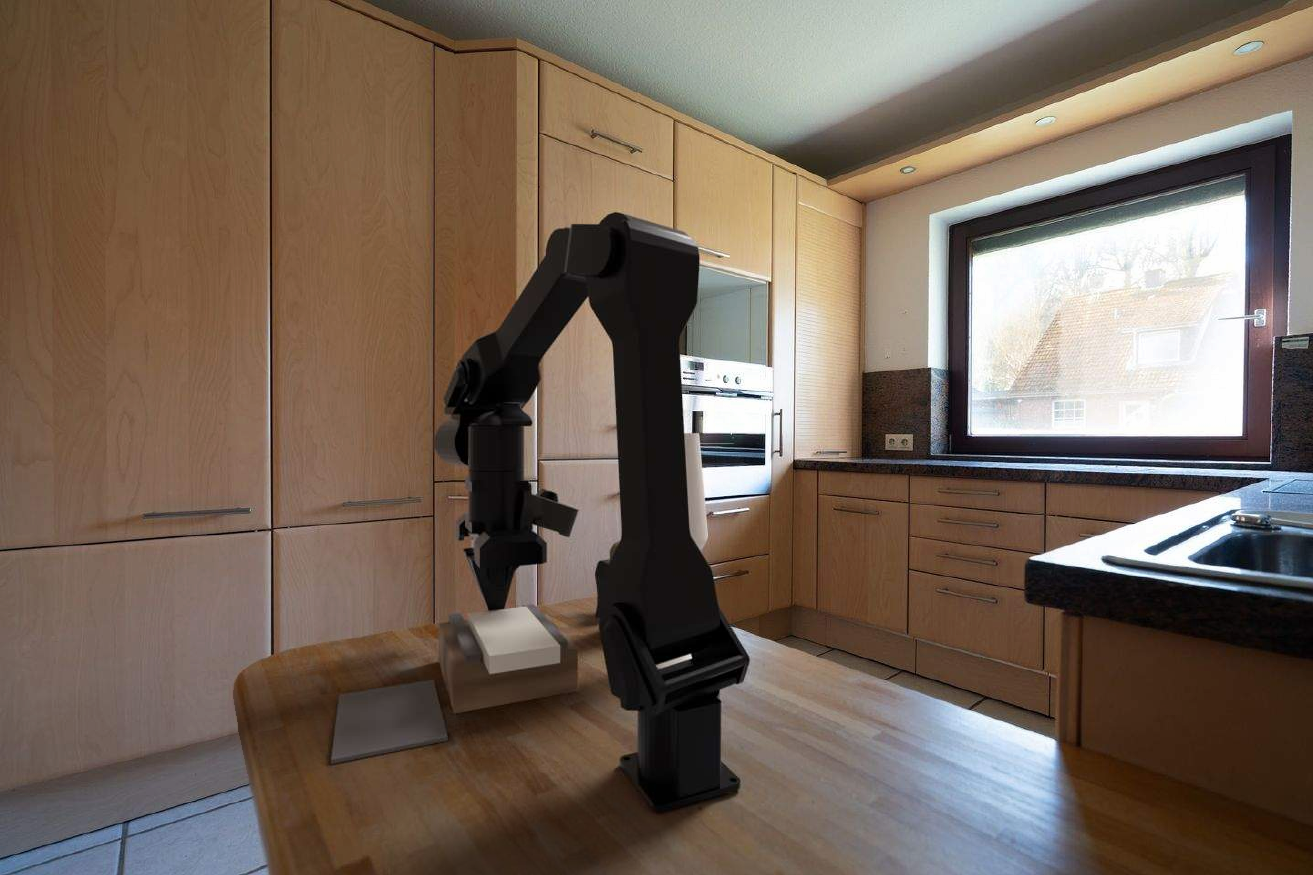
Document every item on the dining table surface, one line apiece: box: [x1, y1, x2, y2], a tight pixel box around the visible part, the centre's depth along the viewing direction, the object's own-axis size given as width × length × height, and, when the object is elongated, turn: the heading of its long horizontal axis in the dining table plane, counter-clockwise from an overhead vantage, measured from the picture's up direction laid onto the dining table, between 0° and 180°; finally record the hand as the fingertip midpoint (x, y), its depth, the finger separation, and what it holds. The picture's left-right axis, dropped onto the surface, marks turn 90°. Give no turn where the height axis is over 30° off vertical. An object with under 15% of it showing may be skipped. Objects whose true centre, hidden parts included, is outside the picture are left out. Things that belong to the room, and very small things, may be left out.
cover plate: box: [467, 606, 560, 674], centre depth 57 cm, size 13×6×2 cm, turn 25°
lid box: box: [438, 603, 579, 714], centre depth 60 cm, size 13×11×5 cm
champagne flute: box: [656, 432, 709, 669], centre depth 65 cm, size 7×7×24 cm
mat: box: [330, 679, 449, 765], centre depth 51 cm, size 12×8×1 cm, turn 25°
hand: (496, 617), depth 64 cm, fingers closed
